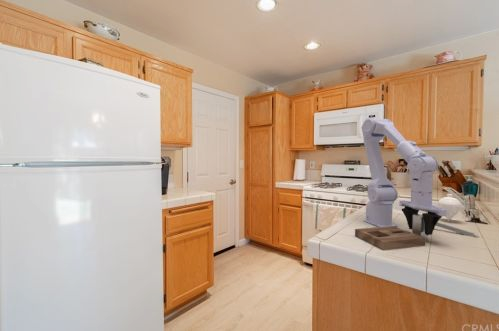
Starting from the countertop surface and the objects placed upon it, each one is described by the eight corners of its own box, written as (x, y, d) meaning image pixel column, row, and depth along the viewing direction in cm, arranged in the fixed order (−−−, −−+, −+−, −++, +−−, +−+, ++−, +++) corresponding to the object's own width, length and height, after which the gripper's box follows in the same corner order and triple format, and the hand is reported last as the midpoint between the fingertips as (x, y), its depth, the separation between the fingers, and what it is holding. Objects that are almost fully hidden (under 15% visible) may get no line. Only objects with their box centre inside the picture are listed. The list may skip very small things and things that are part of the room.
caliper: (407, 225, 90) (407, 210, 90) (407, 225, 91) (408, 209, 91) (479, 238, 76) (480, 220, 76) (479, 237, 77) (479, 219, 77)
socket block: (354, 236, 77) (355, 228, 77) (392, 232, 81) (392, 225, 81) (383, 250, 66) (383, 241, 65) (425, 245, 69) (425, 237, 69)
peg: (412, 237, 76) (412, 214, 76) (418, 236, 77) (419, 214, 77) (420, 240, 73) (421, 216, 73) (427, 239, 74) (428, 216, 74)
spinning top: (466, 224, 91) (467, 195, 91) (448, 224, 91) (449, 195, 91) (449, 219, 99) (450, 192, 99) (432, 219, 99) (433, 192, 98)
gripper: (393, 189, 81) (392, 225, 81) (434, 196, 66) (433, 240, 67) (408, 188, 82) (407, 224, 83) (452, 195, 68) (450, 238, 69)
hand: (420, 231), depth 75 cm, fingers open, 5 cm apart
